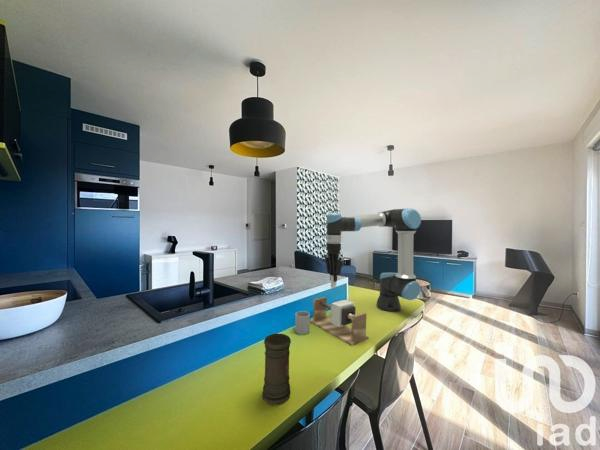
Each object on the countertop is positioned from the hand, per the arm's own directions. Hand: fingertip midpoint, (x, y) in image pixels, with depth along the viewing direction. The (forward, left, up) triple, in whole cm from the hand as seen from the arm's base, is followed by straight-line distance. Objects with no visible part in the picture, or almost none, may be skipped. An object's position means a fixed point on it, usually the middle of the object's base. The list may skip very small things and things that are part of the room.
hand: (333, 287), depth 128 cm
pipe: (+1, +4, -13) cm, 13 cm away
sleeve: (+1, +7, -16) cm, 18 cm away
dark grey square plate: (+1, +11, -15) cm, 19 cm away
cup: (+17, -6, -21) cm, 28 cm away
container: (+50, +27, -21) cm, 61 cm away
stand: (+1, +4, -21) cm, 22 cm away
